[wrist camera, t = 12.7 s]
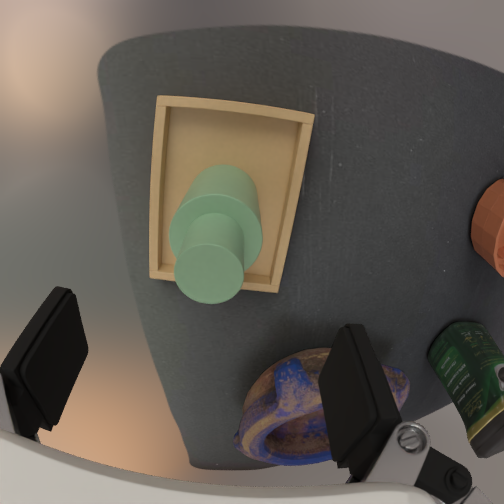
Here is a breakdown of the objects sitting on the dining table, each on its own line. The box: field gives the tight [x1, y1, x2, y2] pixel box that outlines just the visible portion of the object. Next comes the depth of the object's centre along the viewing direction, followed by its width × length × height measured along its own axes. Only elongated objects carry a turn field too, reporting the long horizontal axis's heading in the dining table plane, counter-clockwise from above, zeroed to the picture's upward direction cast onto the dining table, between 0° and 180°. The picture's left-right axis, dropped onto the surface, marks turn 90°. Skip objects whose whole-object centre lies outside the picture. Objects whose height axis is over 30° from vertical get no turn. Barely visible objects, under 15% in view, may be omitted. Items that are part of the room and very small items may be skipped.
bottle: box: [169, 164, 263, 304], centre depth 20 cm, size 6×6×12 cm
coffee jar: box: [428, 322, 504, 458], centre depth 28 cm, size 10×8×19 cm
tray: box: [149, 96, 315, 293], centre depth 25 cm, size 16×12×2 cm
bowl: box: [233, 348, 410, 466], centre depth 32 cm, size 18×18×10 cm
